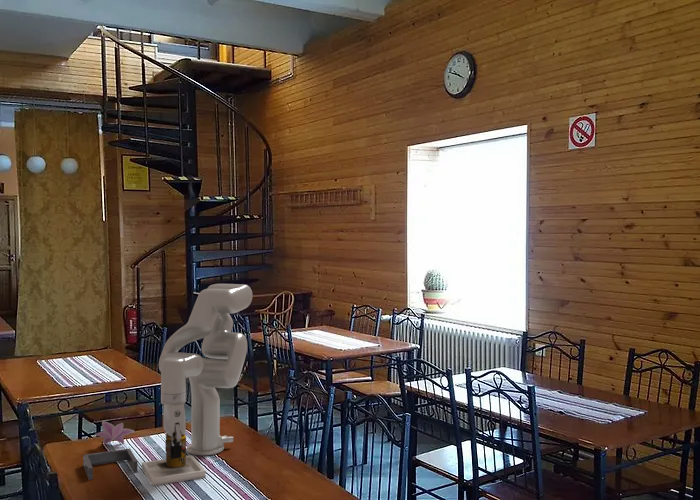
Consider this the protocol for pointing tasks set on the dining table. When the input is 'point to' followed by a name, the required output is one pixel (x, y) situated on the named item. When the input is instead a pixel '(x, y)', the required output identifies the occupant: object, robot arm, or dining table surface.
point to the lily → (113, 432)
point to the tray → (173, 472)
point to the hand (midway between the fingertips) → (173, 454)
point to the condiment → (176, 462)
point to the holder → (109, 460)
